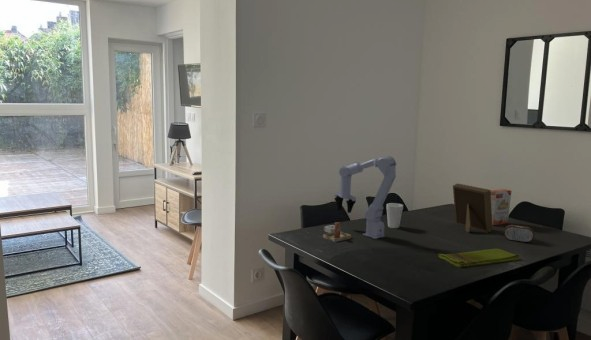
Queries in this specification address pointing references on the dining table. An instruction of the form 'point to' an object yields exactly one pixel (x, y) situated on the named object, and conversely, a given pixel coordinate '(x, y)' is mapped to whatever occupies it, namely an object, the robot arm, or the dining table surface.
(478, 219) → the photo frame
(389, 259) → the dining table surface
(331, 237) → the tray
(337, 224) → the pin
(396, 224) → the foam cup
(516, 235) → the tin
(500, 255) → the dish towel
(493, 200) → the cracker box
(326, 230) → the gray square open box
